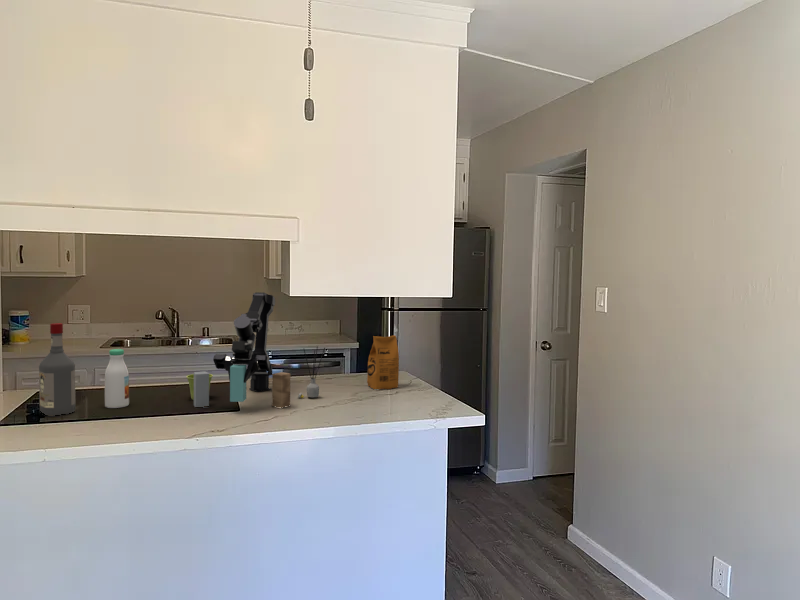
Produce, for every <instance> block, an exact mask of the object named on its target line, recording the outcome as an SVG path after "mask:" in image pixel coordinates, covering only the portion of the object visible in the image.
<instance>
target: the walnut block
mask: <svg viewBox="0 0 800 600" xmlns="http://www.w3.org/2000/svg"><path fill="white" fill-rule="evenodd" d="M271 377H272V378H271V379H272V381H271V382H272V383H271V384H272V385H271V386H272V388H271V390H272V391H271V393H272V394H271V395H272V397H271V401H272V402H271V407H272V406H276V407H281V408H282V407H285V406H289V405H290V406H291V373H289V372H283V371H281V372H276V373H272V375H271Z"/></svg>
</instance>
